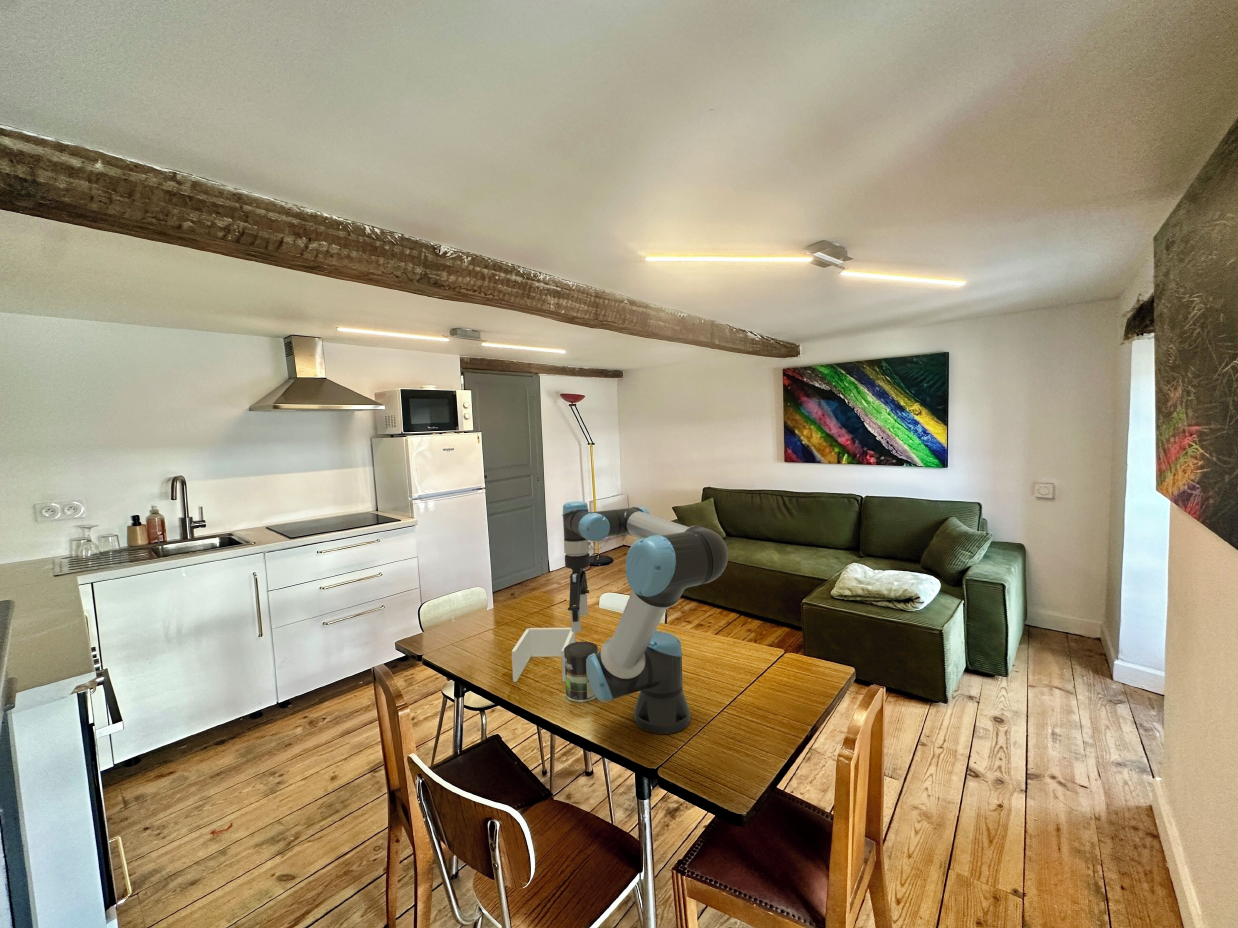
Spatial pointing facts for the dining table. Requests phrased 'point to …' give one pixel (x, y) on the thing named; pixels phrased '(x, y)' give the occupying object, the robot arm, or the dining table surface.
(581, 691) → the coffee can
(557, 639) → the white u-shaped bracket
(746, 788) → the dining table surface
